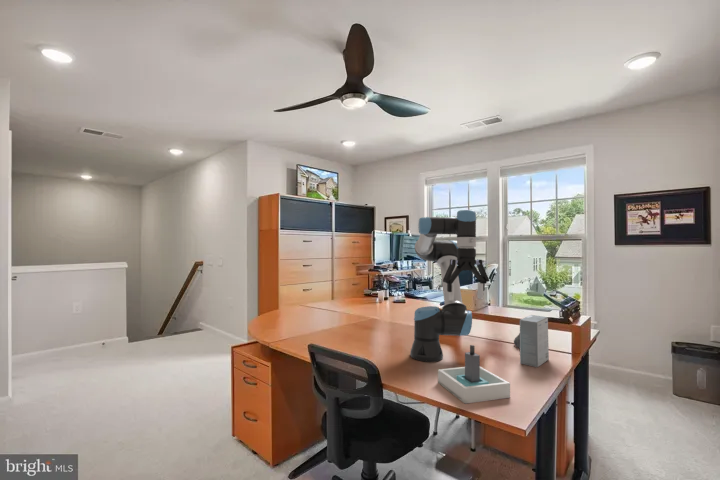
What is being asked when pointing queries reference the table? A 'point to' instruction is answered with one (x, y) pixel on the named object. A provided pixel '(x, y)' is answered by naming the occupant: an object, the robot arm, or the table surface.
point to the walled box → (473, 385)
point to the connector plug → (472, 365)
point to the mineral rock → (517, 341)
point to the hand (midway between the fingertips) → (466, 299)
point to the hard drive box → (534, 340)
